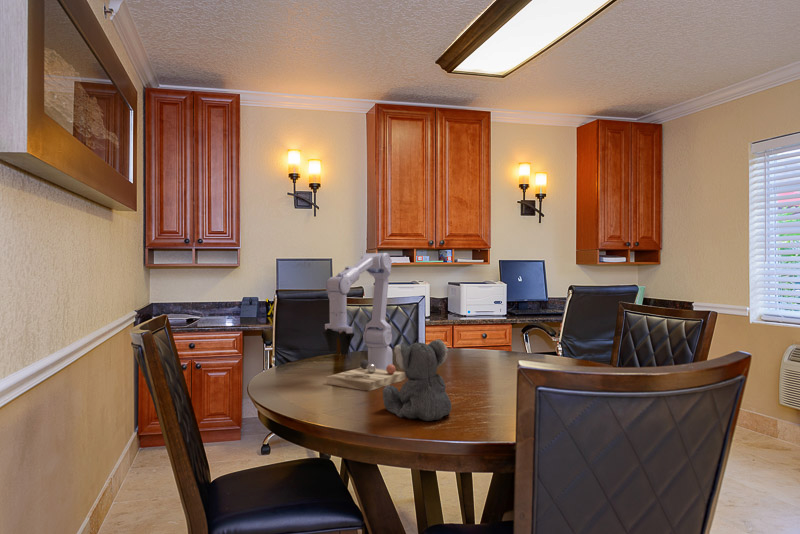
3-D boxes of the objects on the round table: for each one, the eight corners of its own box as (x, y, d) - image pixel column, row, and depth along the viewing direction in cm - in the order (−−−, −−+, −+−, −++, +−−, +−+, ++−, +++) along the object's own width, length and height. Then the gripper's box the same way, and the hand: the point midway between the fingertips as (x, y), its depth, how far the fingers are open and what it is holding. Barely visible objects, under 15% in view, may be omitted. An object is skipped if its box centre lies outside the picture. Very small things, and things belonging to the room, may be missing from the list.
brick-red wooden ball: (389, 372, 179) (389, 363, 179) (397, 373, 177) (397, 364, 177) (384, 374, 176) (384, 364, 176) (392, 375, 174) (391, 365, 174)
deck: (364, 373, 189) (364, 366, 189) (405, 379, 179) (405, 372, 179) (326, 383, 173) (326, 376, 173) (369, 391, 163) (369, 383, 163)
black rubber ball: (363, 367, 188) (363, 358, 188) (370, 368, 186) (370, 359, 186) (358, 369, 185) (358, 360, 185) (365, 370, 183) (365, 360, 183)
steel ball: (370, 371, 180) (370, 362, 180) (377, 372, 178) (377, 363, 178) (364, 373, 178) (364, 363, 178) (372, 374, 176) (372, 364, 176)
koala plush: (437, 402, 149) (436, 334, 149) (467, 419, 132) (466, 342, 132) (379, 408, 143) (379, 337, 143) (403, 427, 126) (403, 346, 126)
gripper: (317, 311, 178) (317, 351, 178) (339, 314, 167) (339, 357, 167) (334, 310, 182) (335, 349, 182) (357, 313, 171) (358, 354, 171)
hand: (338, 352), depth 175 cm, fingers open, 7 cm apart
